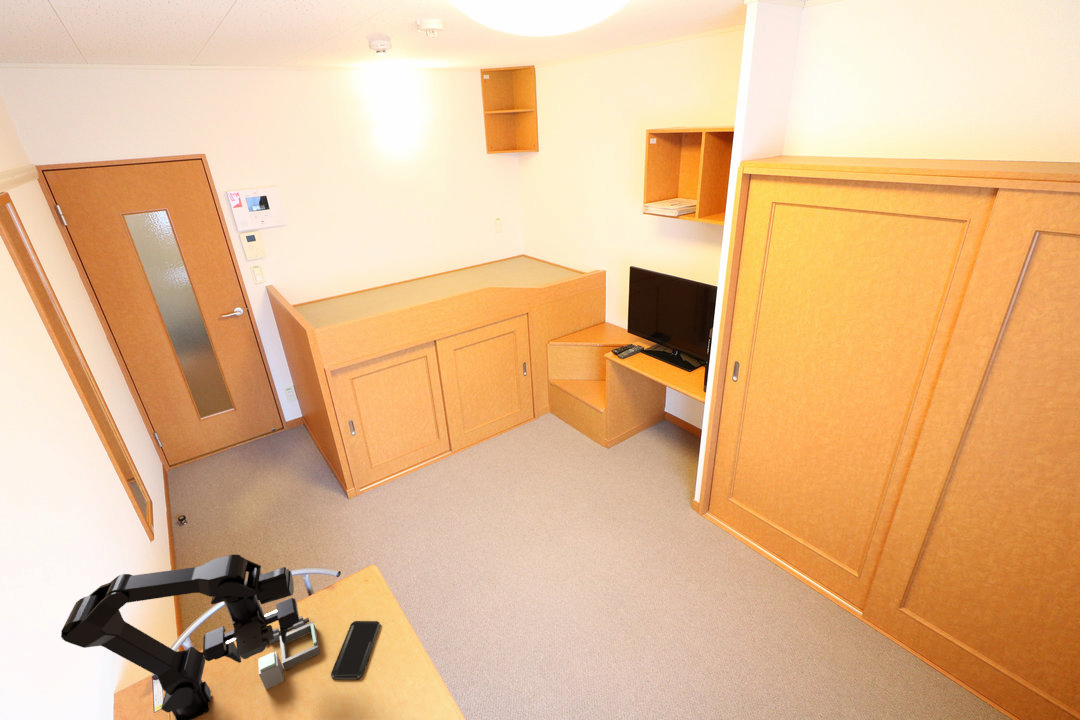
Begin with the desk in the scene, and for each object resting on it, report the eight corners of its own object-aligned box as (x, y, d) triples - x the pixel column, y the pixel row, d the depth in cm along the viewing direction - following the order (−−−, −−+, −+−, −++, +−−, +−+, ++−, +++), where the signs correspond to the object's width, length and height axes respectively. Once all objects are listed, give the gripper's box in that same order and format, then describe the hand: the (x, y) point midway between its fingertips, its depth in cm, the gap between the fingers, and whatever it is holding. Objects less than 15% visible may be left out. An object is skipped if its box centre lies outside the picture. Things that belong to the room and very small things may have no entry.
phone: (329, 677, 120) (352, 620, 134) (330, 680, 121) (353, 623, 134) (361, 678, 120) (381, 621, 133) (362, 680, 120) (381, 623, 134)
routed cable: (265, 646, 129) (262, 641, 128) (264, 638, 131) (262, 633, 130) (310, 626, 133) (308, 620, 132) (309, 619, 135) (307, 613, 134)
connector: (265, 689, 119) (257, 672, 116) (264, 675, 122) (257, 657, 119) (284, 681, 121) (276, 663, 118) (282, 666, 124) (275, 649, 121)
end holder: (284, 669, 123) (281, 661, 122) (281, 642, 129) (278, 634, 128) (319, 653, 126) (317, 645, 125) (315, 627, 133) (312, 619, 132)
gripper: (192, 657, 99) (216, 704, 106) (293, 614, 108) (309, 660, 114) (194, 614, 108) (216, 659, 115) (288, 577, 116) (303, 622, 123)
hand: (262, 651), depth 117 cm, fingers open, 9 cm apart
